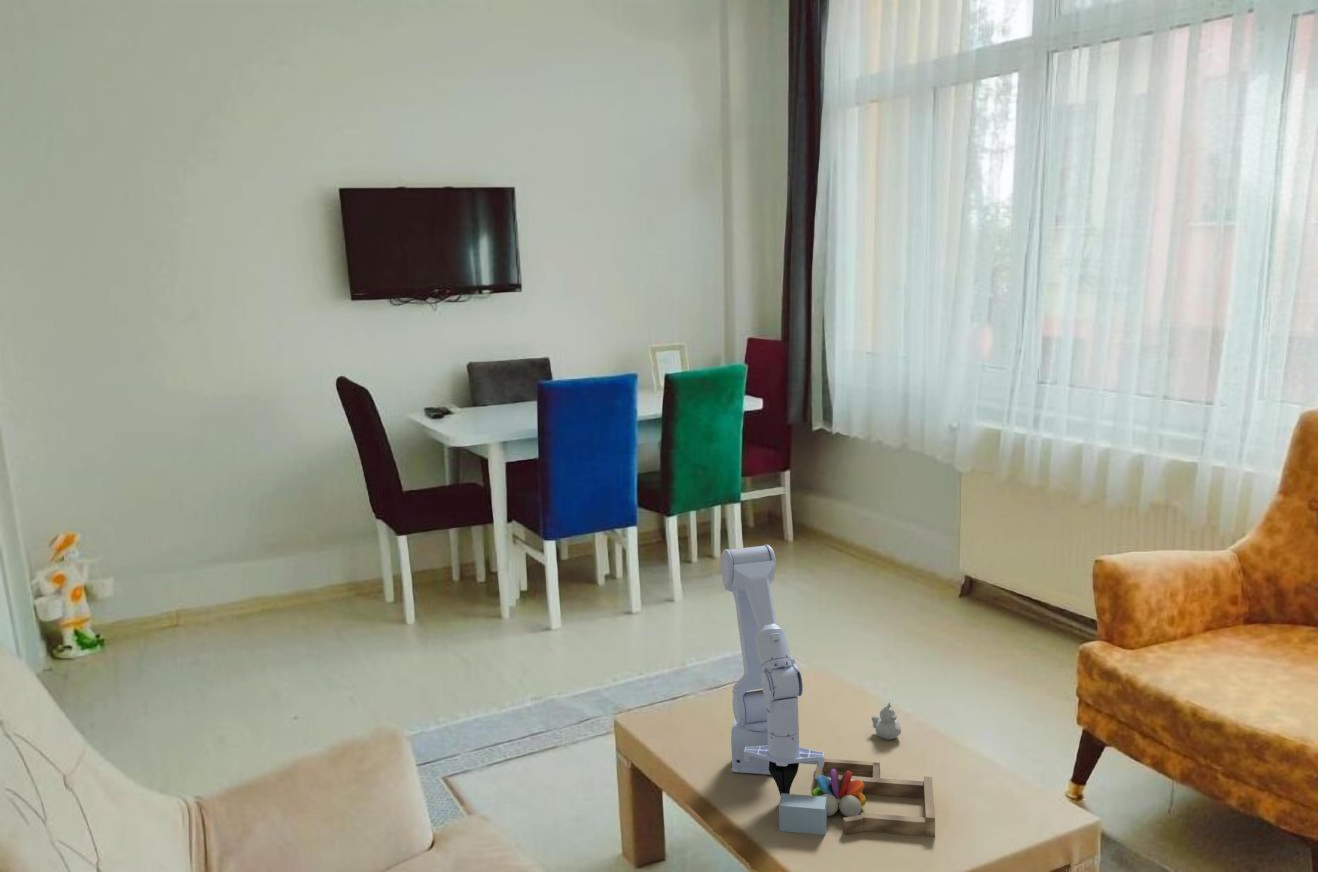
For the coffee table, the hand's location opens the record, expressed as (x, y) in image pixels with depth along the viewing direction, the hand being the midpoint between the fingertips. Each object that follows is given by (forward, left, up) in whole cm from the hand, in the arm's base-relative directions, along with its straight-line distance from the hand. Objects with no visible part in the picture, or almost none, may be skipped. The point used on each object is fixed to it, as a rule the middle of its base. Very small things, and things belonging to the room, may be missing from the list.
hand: (785, 797), depth 179 cm
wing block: (+4, -7, -1) cm, 8 cm away
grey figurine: (+18, +28, -1) cm, 33 cm away
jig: (+16, +2, -1) cm, 16 cm away
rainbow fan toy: (+10, 0, -1) cm, 10 cm away
